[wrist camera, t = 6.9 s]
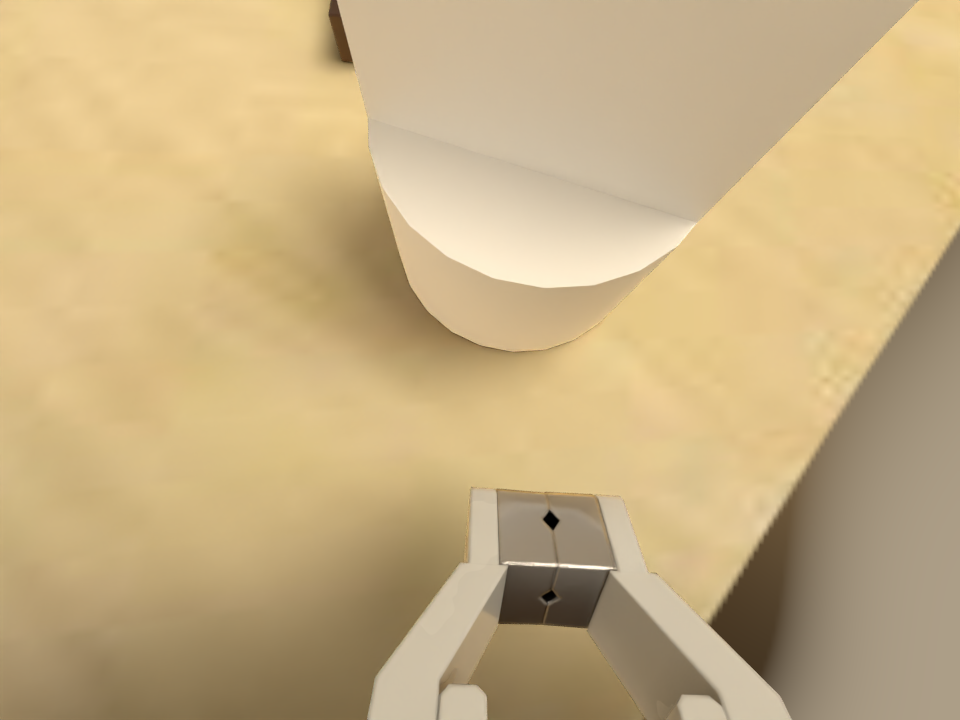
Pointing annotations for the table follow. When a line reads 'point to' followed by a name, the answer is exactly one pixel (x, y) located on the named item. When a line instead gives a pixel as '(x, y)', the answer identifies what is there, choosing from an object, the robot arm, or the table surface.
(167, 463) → the table surface
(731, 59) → the base with upright slab
